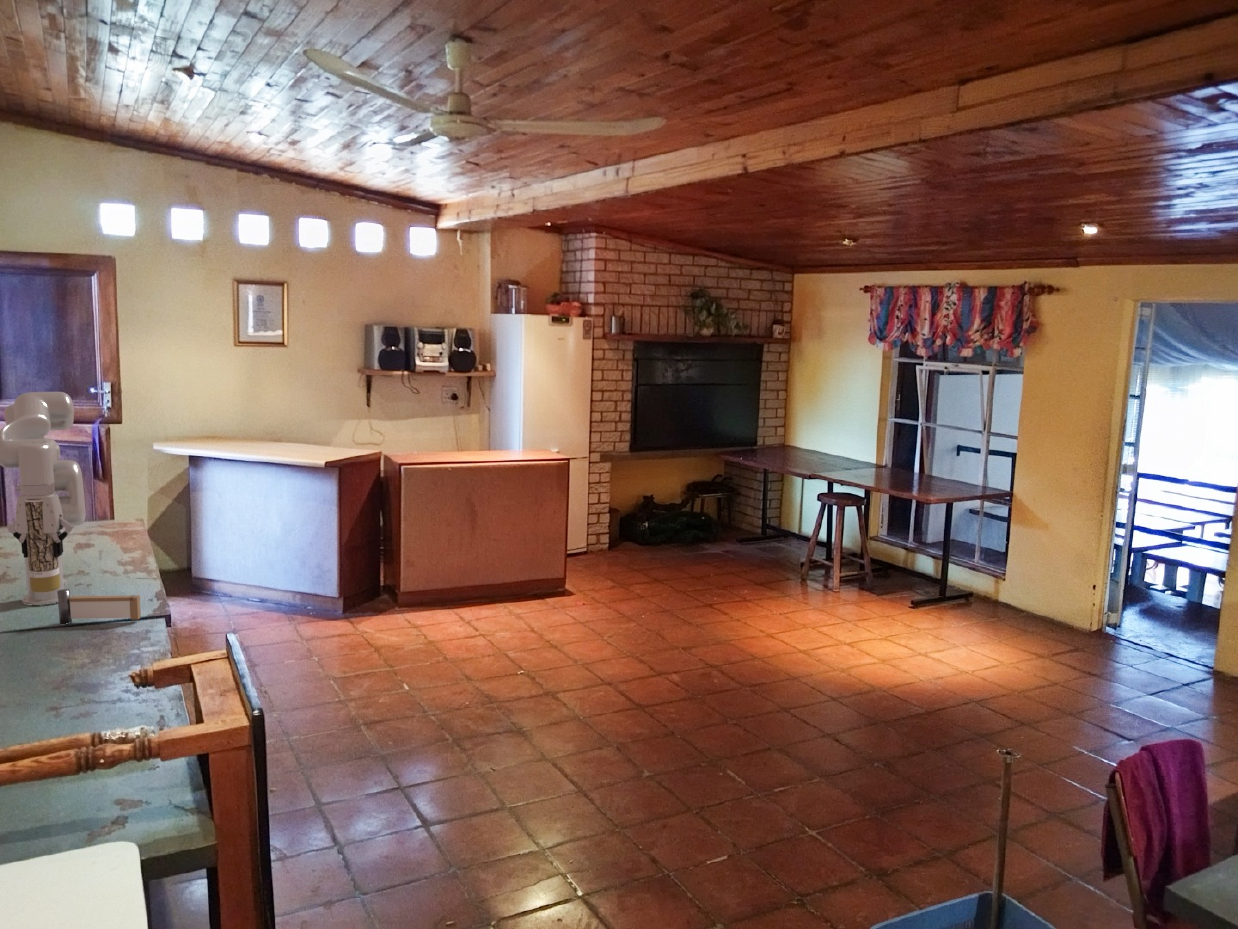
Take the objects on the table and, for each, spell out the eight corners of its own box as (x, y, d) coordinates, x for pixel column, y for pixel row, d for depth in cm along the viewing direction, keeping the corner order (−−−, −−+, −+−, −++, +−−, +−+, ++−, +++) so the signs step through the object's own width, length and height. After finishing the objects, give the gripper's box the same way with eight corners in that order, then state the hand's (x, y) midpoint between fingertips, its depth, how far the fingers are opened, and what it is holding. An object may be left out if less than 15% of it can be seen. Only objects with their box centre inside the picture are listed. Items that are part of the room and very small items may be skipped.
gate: (74, 618, 264) (72, 596, 263) (140, 617, 266) (139, 595, 265) (70, 620, 262) (69, 598, 261) (138, 619, 264) (136, 597, 263)
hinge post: (62, 621, 264) (60, 589, 262) (73, 621, 264) (71, 589, 263) (57, 624, 261) (55, 592, 260) (69, 624, 261) (66, 592, 260)
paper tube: (50, 593, 243) (43, 500, 239) (24, 592, 244) (17, 499, 240) (66, 586, 250) (59, 495, 246) (41, 585, 250) (33, 494, 246)
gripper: (-6, 492, 238) (0, 560, 241) (66, 492, 240) (71, 559, 243) (9, 487, 245) (15, 553, 248) (79, 487, 247) (84, 552, 250)
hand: (43, 555), depth 245 cm, fingers closed on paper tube, 6 cm apart
